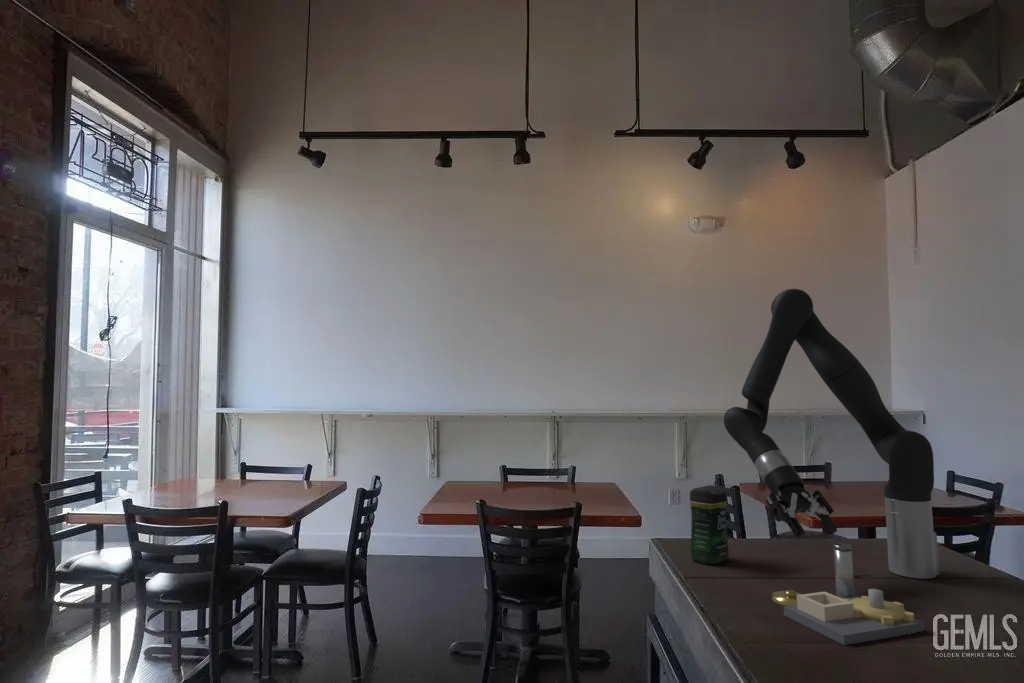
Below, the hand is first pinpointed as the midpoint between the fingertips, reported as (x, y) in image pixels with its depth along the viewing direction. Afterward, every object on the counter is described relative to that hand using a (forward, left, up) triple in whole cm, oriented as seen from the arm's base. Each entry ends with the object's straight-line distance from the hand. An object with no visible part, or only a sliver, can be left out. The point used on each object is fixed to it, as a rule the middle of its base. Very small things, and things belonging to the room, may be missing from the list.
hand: (818, 534), depth 128 cm
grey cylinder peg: (0, +6, -12) cm, 13 cm away
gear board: (+9, +16, -12) cm, 22 cm away
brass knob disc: (+11, +3, -12) cm, 17 cm away
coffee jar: (+9, -27, -12) cm, 30 cm away
